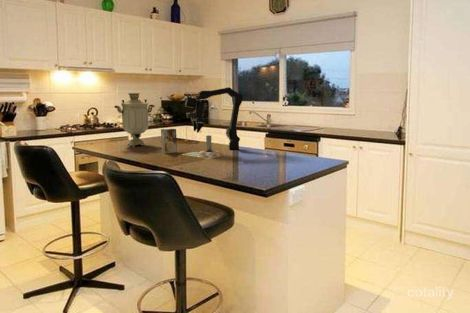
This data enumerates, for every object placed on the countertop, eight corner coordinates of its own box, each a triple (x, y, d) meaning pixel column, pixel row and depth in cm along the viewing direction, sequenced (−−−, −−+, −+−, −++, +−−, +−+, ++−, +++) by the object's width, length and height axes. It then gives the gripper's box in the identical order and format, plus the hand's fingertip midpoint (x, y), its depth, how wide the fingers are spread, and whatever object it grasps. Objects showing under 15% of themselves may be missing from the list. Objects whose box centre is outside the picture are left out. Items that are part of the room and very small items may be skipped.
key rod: (211, 155, 254) (211, 135, 252) (211, 156, 251) (211, 136, 249) (206, 155, 254) (206, 135, 252) (206, 156, 251) (206, 136, 249)
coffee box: (174, 151, 280) (173, 128, 277) (177, 152, 274) (176, 129, 271) (161, 152, 276) (160, 129, 273) (164, 153, 270) (163, 130, 267)
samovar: (155, 141, 327) (152, 92, 319) (157, 146, 302) (155, 93, 295) (117, 143, 319) (113, 93, 312) (117, 148, 294) (113, 93, 287)
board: (223, 157, 253) (223, 151, 253) (210, 160, 244) (210, 153, 243) (194, 153, 269) (193, 147, 269) (181, 155, 260) (180, 149, 260)
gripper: (185, 106, 275) (181, 128, 277) (191, 107, 258) (187, 131, 260) (201, 109, 279) (197, 131, 281) (207, 110, 262) (203, 134, 263)
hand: (196, 131), depth 271 cm, fingers open, 9 cm apart
